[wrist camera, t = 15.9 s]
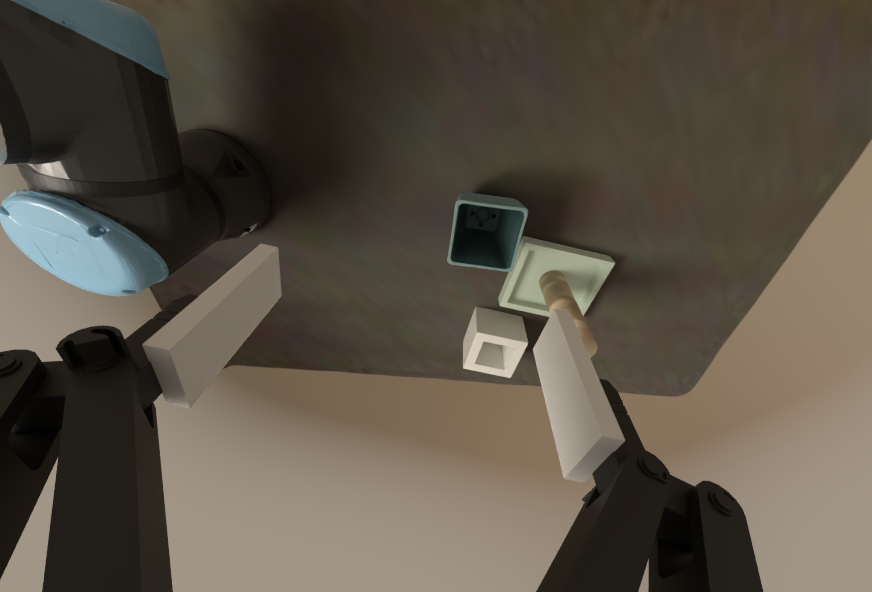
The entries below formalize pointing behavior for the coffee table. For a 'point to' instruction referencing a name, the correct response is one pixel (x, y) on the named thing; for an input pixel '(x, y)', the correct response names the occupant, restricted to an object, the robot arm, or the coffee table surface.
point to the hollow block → (494, 342)
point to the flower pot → (486, 231)
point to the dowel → (566, 305)
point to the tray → (542, 256)
